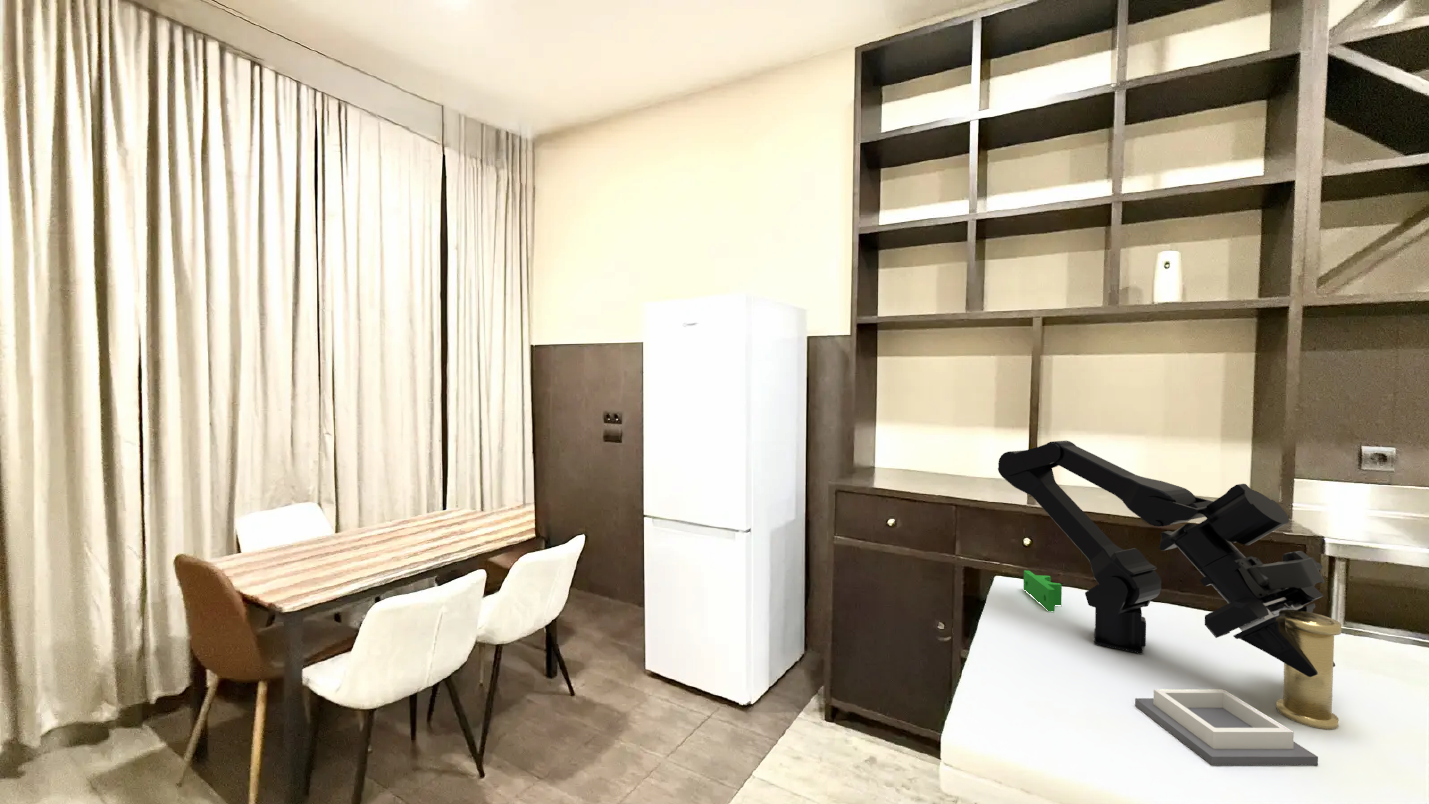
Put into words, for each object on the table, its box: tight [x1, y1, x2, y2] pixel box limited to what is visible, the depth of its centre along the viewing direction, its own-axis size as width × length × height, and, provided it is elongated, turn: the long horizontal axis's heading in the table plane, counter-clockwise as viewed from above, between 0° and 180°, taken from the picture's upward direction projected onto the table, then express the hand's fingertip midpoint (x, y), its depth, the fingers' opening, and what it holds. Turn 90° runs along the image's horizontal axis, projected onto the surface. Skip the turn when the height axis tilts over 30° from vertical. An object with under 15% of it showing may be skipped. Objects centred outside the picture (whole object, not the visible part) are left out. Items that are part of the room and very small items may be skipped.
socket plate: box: [1134, 688, 1319, 766], centre depth 71 cm, size 12×12×3 cm
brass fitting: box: [1276, 610, 1342, 730], centre depth 74 cm, size 6×6×13 cm
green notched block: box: [1023, 570, 1063, 612], centre depth 114 cm, size 11×4×5 cm, turn 173°
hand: (1322, 671), depth 73 cm, fingers closed on brass fitting, 4 cm apart
